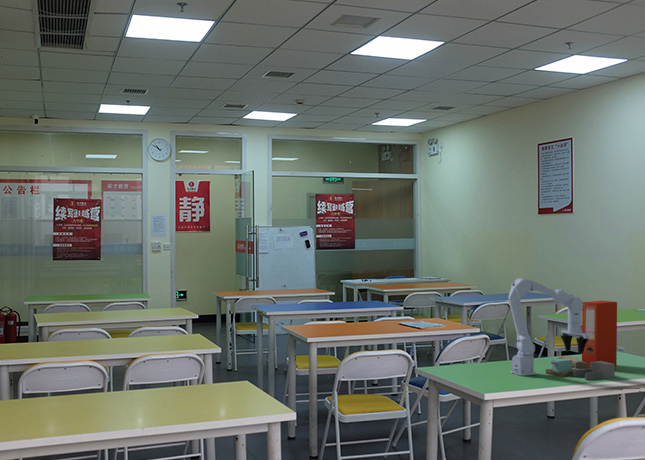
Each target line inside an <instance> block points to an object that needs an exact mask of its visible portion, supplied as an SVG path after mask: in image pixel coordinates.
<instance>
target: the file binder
mask: <svg viewBox="0 0 645 460" xmlns="http://www.w3.org/2000/svg"><path fill="white" fill-rule="evenodd" d="M582 303H583V307H582V308H581V332H582V333H585V334H588V341H587V343H586V345H585V347H584V351H583V353H581V361H583V362H585V363H587V364H588V365H587V368H590V362H597V361H603V362H608V363H613V364H615V367H617V363H618V361H617V357H618V356H617V352H618V349H617V348H618V347H617V345H618V343H617V342H618V341H617V340H618V302H617V301H612V300H611V301H610V300H594V301H593V300H591V301H582Z"/></svg>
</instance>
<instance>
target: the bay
mask: <svg viewBox="0 0 645 460" xmlns="http://www.w3.org/2000/svg"><path fill="white" fill-rule="evenodd" d="M615 368H616V366H615V364H613V363H608V362H603V361H597V362H590V369H581V370H573V375H572V377H573V378H580V377H584V380H585V381H589V380H590V381H592V380H601V379H610V378H615V375H616V374H615V373H616V372H615V371H616V369H615Z"/></svg>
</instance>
